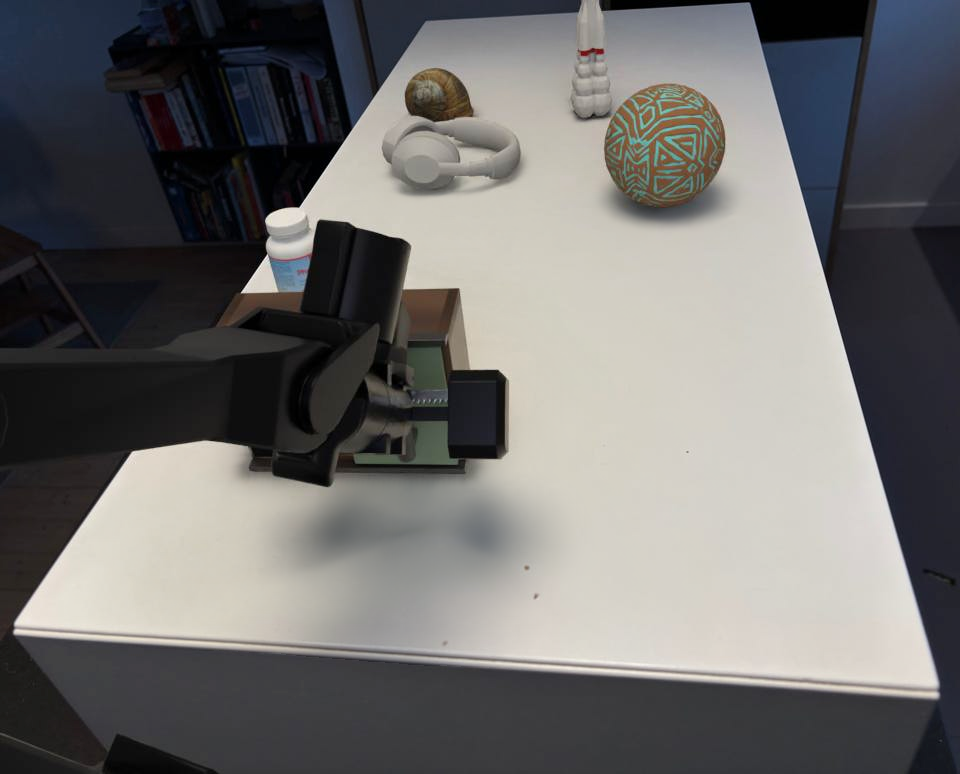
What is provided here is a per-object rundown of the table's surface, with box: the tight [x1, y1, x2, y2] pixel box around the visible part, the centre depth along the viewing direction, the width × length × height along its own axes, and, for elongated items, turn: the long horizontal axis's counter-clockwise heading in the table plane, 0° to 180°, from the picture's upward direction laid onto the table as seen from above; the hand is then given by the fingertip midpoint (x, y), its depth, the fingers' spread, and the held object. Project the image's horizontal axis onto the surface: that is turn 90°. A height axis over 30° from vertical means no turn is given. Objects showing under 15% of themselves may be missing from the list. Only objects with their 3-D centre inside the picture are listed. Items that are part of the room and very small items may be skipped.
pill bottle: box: [264, 207, 315, 292], centre depth 93 cm, size 6×6×11 cm
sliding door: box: [353, 346, 459, 465], centre depth 67 cm, size 4×9×13 cm, turn 84°
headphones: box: [381, 115, 522, 191], centre depth 120 cm, size 18×8×20 cm
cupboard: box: [215, 287, 471, 474], centre depth 71 cm, size 8×20×14 cm, turn 84°
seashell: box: [404, 67, 474, 122], centre depth 137 cm, size 11×9×8 cm
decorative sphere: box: [603, 83, 726, 208], centre depth 103 cm, size 15×15×15 cm
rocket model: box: [570, 0, 613, 119], centre depth 125 cm, size 7×7×30 cm
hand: (405, 421), depth 66 cm, fingers open, 9 cm apart
